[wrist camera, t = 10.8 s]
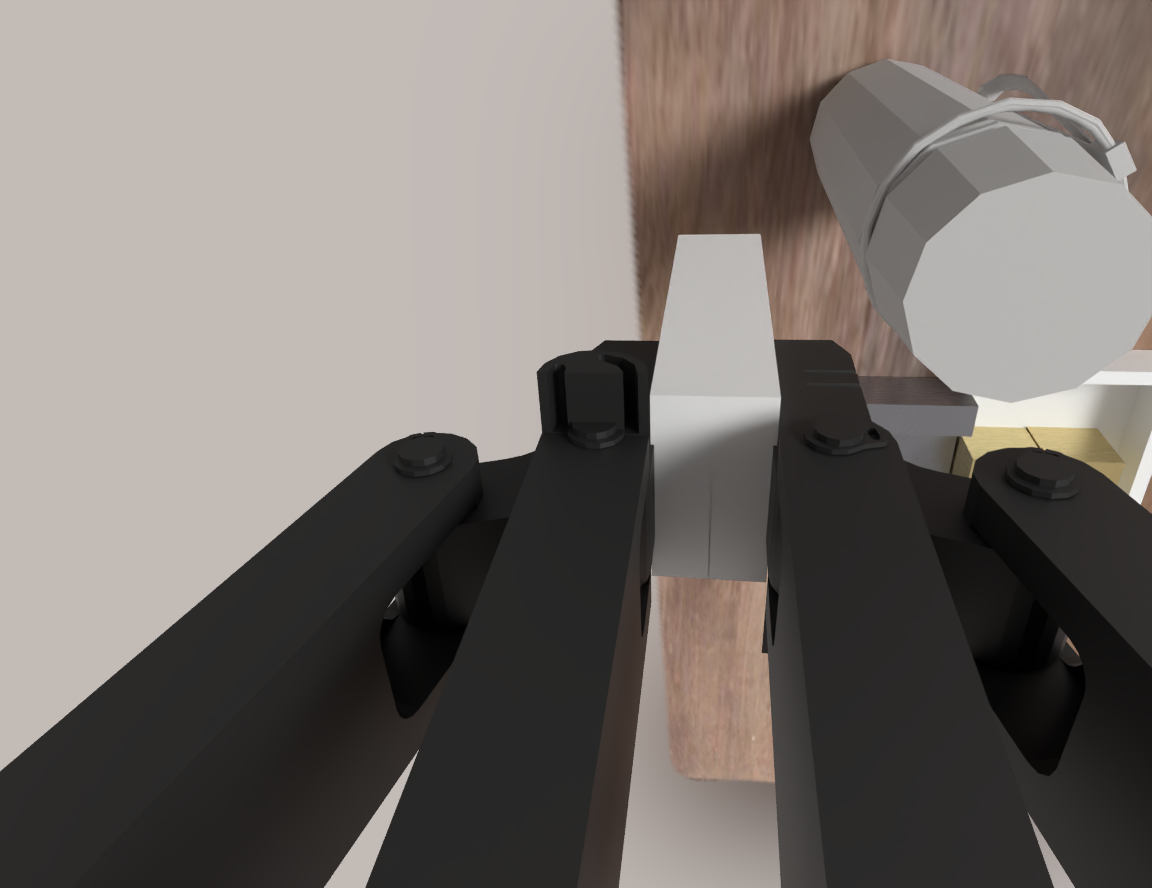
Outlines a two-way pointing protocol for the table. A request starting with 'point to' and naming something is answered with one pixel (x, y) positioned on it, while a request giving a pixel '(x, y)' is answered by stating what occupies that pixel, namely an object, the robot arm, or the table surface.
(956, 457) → the tan cube block
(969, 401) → the slot rail
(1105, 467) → the khaki cube block
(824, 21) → the table surface
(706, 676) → the table surface
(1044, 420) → the white rectangular frame
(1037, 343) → the water bottle
